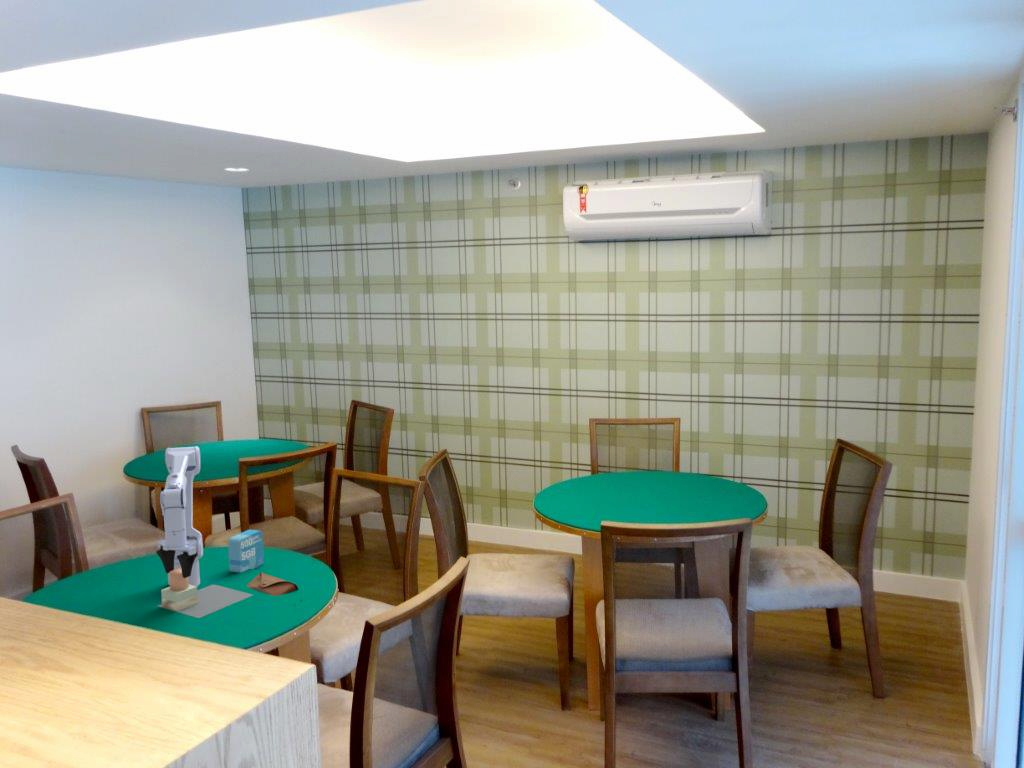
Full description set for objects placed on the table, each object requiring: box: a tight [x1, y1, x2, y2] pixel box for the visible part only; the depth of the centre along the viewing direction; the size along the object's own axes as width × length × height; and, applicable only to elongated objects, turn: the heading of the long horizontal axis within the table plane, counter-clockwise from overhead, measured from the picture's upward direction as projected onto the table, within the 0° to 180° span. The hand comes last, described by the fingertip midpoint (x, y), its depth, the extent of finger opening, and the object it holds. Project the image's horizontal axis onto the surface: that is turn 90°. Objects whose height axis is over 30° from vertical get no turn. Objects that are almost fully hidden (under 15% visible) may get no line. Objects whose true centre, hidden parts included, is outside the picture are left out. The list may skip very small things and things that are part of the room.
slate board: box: [158, 584, 254, 619], centre depth 252 cm, size 18×20×1 cm
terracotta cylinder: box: [169, 569, 189, 591], centre depth 248 cm, size 5×5×5 cm
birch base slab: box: [161, 595, 198, 612], centre depth 248 cm, size 7×7×2 cm
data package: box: [227, 529, 265, 573], centre depth 281 cm, size 12×4×12 cm, turn 159°
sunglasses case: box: [246, 571, 300, 597], centre depth 262 cm, size 18×7×7 cm, turn 54°
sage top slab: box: [160, 584, 198, 603], centre depth 248 cm, size 7×7×2 cm
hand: (178, 574), depth 247 cm, fingers open, 7 cm apart
